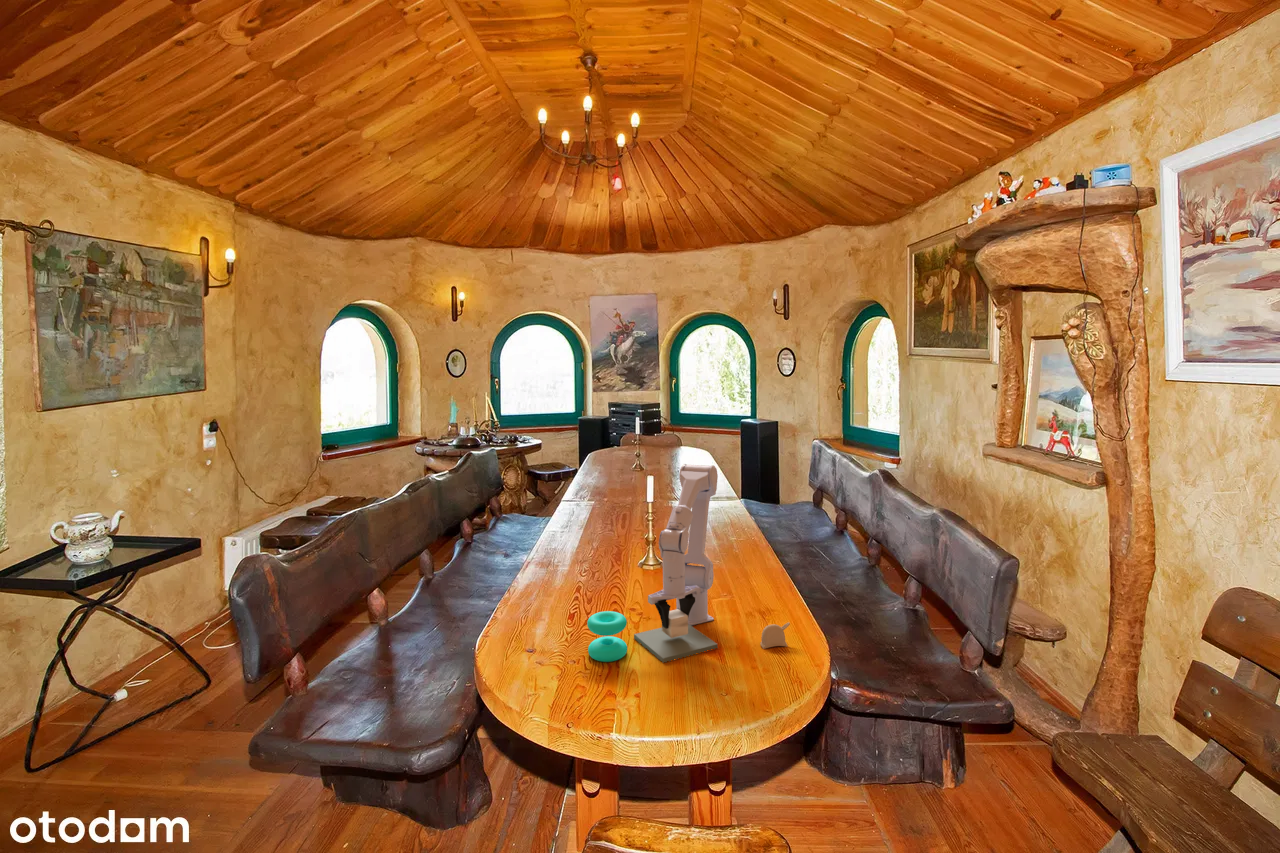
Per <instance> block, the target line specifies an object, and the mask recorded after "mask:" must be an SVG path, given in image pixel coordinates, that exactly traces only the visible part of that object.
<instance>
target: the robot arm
mask: <svg viewBox="0 0 1280 853" xmlns="http://www.w3.org/2000/svg"><path fill="white" fill-rule="evenodd" d="M678 474H679V477H678V478H679V483H680V486H681V492H680V496H679V501H678V505H677V506H675V507H673V508H672V510H671V513H670V516H669V519H668V522H667V525H666V528H665V529H663V530H661V531H660V533H659V536H658V549H659V551H660V558H662V586H663V587H662V589H660V590H659V591H656V592H654V593H651V594H648V595H647V603H648V604H650V605H654V606H655V608H656V610H657V612H658V614H659V617H660V621H661V627H662V626H663V627H664V628H666V629H667V628H668V627H669V611H671V605H670V604H668V601H669V600H674V599H676V605H675V606H676V609H679V610H680V611H682V612H683V613H685V614H686V615H688V624H689V625H691V626H695V625H698V624H703V623H707V622H712V621H714V617H713V616H711V615H710V614H708V608H709V607H708V605H709V604H708V601H709V600H708V590H710V589H711V588H712V586H713V583H714V575H715V574H714V563H713V561H712V560H711V559H710V558H709V557H708V556H706V554H705V551H706V549H705V548H706V542H707V541H706V540H707V530H708V519H709V518H708V517H709V509H710V508H709V507H710V501H711V497H714V496H716V493H717V489H718V477H719V476H718V469H717V467H716V466H715V465H702V464H701V465H700V464H686V463H683V465H682V466H681V467H680V469H679V473H678ZM686 551H687V553H686ZM694 564H696V565H694Z"/></svg>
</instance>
